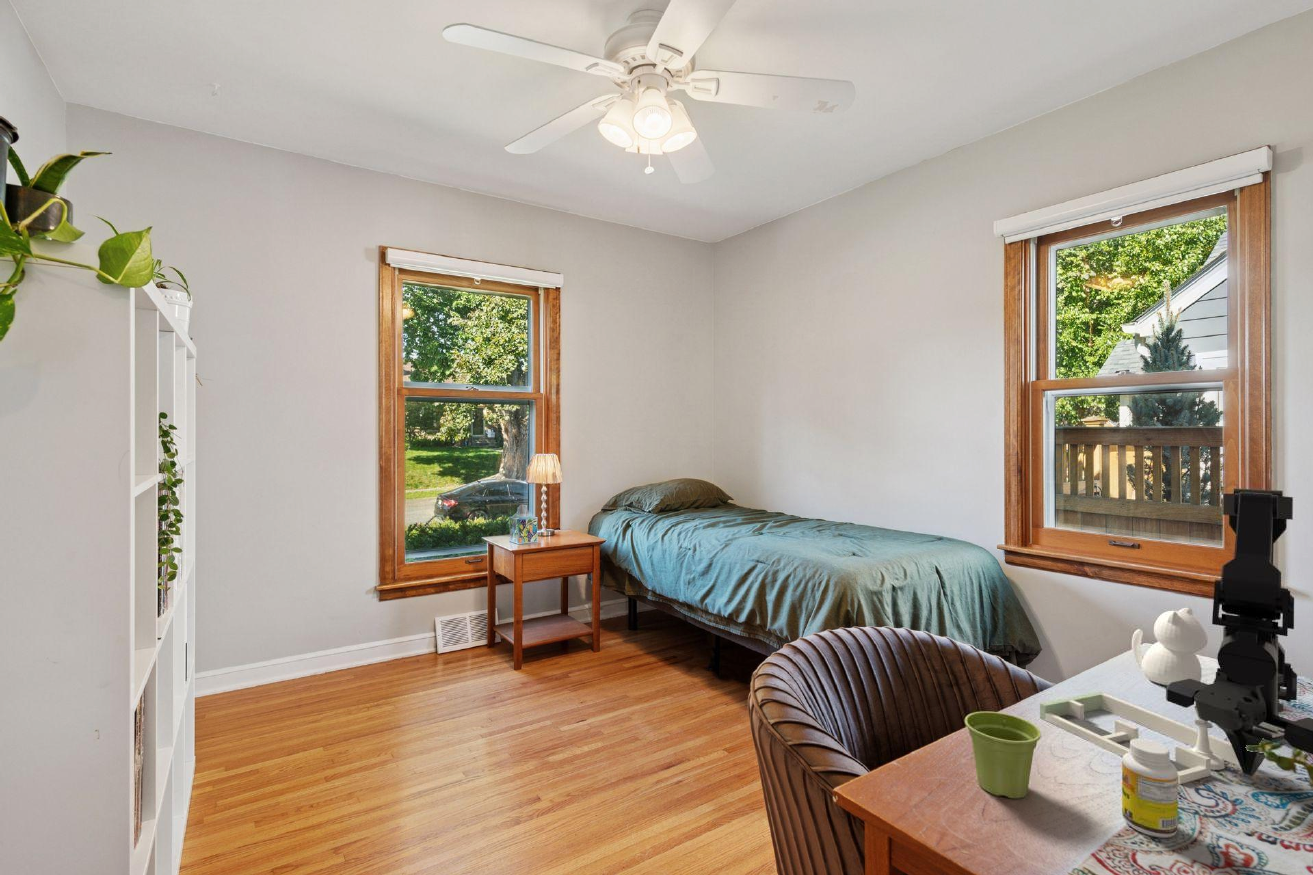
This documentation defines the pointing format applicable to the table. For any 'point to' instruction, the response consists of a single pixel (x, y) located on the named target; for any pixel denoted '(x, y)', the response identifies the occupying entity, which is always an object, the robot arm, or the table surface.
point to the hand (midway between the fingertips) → (1248, 773)
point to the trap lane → (1134, 731)
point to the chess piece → (1206, 744)
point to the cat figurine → (1172, 648)
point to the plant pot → (1002, 751)
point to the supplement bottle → (1150, 789)
